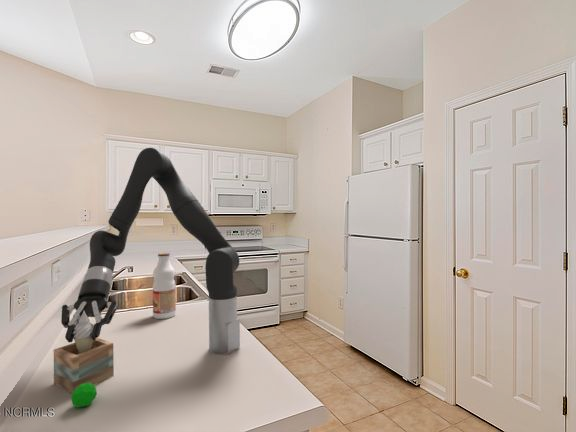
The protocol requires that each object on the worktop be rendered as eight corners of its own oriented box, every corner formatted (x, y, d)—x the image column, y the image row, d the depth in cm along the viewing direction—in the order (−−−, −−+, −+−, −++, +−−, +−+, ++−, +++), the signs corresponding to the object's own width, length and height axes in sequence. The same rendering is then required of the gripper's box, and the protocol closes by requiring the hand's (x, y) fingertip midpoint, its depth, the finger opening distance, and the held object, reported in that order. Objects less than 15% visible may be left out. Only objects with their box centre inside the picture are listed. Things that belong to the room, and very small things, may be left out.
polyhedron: (88, 411, 68) (88, 390, 68) (66, 412, 68) (66, 391, 68) (101, 398, 73) (100, 378, 73) (79, 399, 73) (79, 379, 73)
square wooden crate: (113, 375, 84) (113, 343, 84) (73, 394, 75) (73, 357, 75) (93, 367, 88) (93, 336, 89) (53, 383, 80) (53, 349, 80)
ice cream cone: (71, 371, 78) (71, 314, 78) (75, 363, 83) (74, 308, 83) (94, 367, 81) (93, 311, 81) (96, 359, 85) (95, 306, 85)
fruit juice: (170, 319, 130) (169, 254, 130) (148, 319, 130) (148, 254, 130) (179, 312, 139) (178, 251, 139) (159, 312, 139) (158, 252, 140)
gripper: (65, 279, 87) (44, 337, 76) (120, 276, 91) (108, 330, 79) (73, 293, 92) (54, 349, 81) (125, 289, 96) (114, 342, 84)
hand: (81, 339), depth 80 cm, fingers closed on ice cream cone, 5 cm apart
